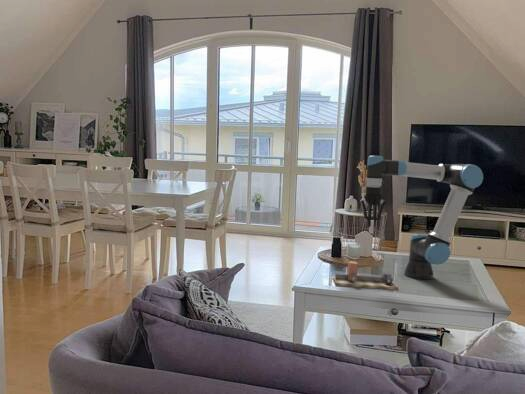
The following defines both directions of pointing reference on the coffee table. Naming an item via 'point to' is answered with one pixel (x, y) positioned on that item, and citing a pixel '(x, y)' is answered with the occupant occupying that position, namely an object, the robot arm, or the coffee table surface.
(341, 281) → the bolt board
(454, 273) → the coffee table surface
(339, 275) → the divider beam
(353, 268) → the sliding head
